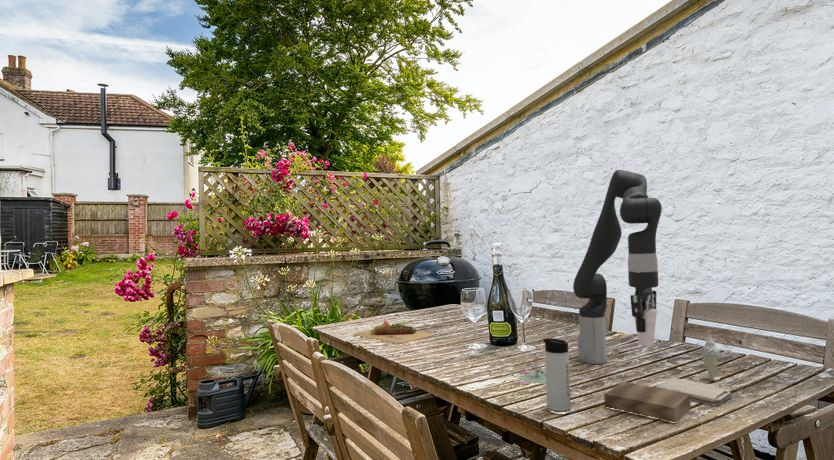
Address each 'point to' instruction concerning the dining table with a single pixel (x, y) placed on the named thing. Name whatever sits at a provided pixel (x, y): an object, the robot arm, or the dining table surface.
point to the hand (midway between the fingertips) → (645, 329)
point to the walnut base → (648, 401)
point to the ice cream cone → (710, 356)
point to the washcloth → (697, 391)
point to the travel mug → (557, 375)
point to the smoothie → (648, 328)
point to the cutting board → (393, 333)
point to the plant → (534, 375)
